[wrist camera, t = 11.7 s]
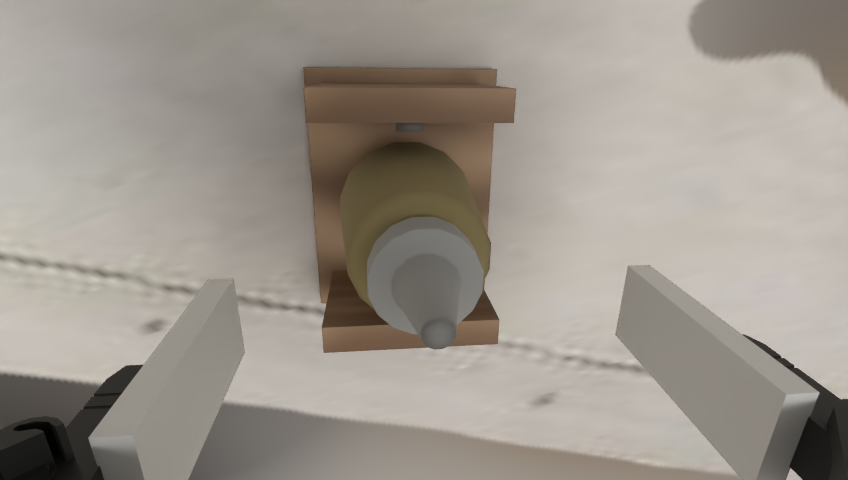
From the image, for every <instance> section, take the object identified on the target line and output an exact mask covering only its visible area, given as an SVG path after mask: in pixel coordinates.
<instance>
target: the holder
mask: <svg viewBox="0 0 848 480" xmlns="http://www.w3.org/2000/svg"><path fill="white" fill-rule="evenodd" d="M303 69H304V83H305V87H304V98H305V112H306V123H308V136H309V149H310V163H311V176H312V189H313V203H314V216H315V229H316V243H317V256H318V270H319V283H320V296H321V303H327V304H326V309H325V314H324V320H323V325H322V336H323V349H324V353H328V352H348V351H368V350H387V349H407V348H426V347H427V346H426V345H425V344H424V343H423V342H422V340H421V339H420V337H419V336H418V334H411V333H408V332H405V331H402V330H398V329H395V328H393V327H392V326H390V325H389V324H388V323H387V322H386V321H384V320H383V319H382V318H381V317H380V316H378V315H377V313H376V311H375V310H374V309H373V308H372V307H371V306H369V305H368V304H367V303H366V302H365V301H363V300H362V299H361V298H360V297H359V295H358V293H357V291H356V289H355V287H354V285H353V283H352V281H351V280H350V278H349V276H348V272H347V264H346V256H345V248H344V240H343V231H342V223H341V206H340V196H341V193H342V190H343V188H344V185H345V182H346V180H347V177H348V174H349V172H350V171H351V170H352V169H353V168H354V167H355V166H356V165H357V164H358V163H359V162H360V161H361V160H362V159H363V158H364V157H365V156H366V155H367V154H368V153H369V152H372V151H374V150H376V149H379V148H381V147H383V146H386V145H388V144H390V143H393V142H421V143H424V144H426V145H428V146H431V147H433V148H436V149H438V150H440V151H443V152H445V153H446V154H447V155H448V156H449V157H450V158H451V159H452V160H453V161H454V162H455V163H456V164H457V165H458V166H459V167H460V168H461V169H462V170H463V172H464V174H465V177H466V179H467V182H468V185H469V187H470V190H471V192H472V195H473V197H474V200H475V203H476V205H477V208H478V210H479V213H480V216H481V218H482V221H483V223H484V226H485V229H486V231H487V232H488V214H489V197H490V180H491V163H492V146H493V129H494V123H514V111H515V97H516V89H515V88H507V87H500V86H496V77H497V69H422V68H319V67H303ZM484 283H485V279H484V281H483V291H482V293H481V295H480V297H479V299H478V301H477V303H476V305H475V307H474V309H473V311H472V312H471V313H470V314H469V315H467V316H466V317H465V318H464V319H463V320H462V321H461V322H460V323H459V324H458V325H457V334H456V338H455V340H454V342H453V343H451V344H450V345H449V346H466V345H485V344H498V332H499V318H498V316H497V314H496V312H495V310H494V308H493V306H492V304H491V302H490V300H489V298H488V297H487V295H486V293H485V291H484Z"/></svg>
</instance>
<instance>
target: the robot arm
mask: <svg viewBox="0 0 848 480" xmlns="http://www.w3.org/2000/svg"><path fill="white" fill-rule="evenodd" d="M615 335H616V336H617V337H618V338H619V339H620V341H621V342H622V343H623V344H624V345H625V346H626V347H627V349H628V350H629V351H630V352H631V353H632V354H633V355H634V356H635V358H636V359H637V360H638V361H639V362H640V363H641V364H642V366H643V367H644V368H645V369H646V370H647V371H648V372H649V374H650V375H651V376H652V377H653V378H654V379H655V380H656V382H657V383H658V384H659V385H660V386H661V387H662V388H663V390H664V391H665V392H666V393H667V394H668V395H669V396H670V398H671V399H672V400H673V401H674V402H675V403H676V404H677V406H678V407H679V408H680V409H681V410H682V411H683V412H684V414H685V415H686V416H687V417H688V418H689V419H690V420H691V422H692V423H693V424H694V425H695V426H696V427H697V428H698V430H699V431H700V432H701V433H702V434H703V435H704V436H705V438H706V439H707V440H708V441H709V442H710V443H711V444H712V446H713V447H714V448H715V449H716V450H717V451H718V452H719V454H720V455H721V456H722V457H723V458H724V459H725V460H726V462H727V463H728V464H729V465H730V466H731V467H732V468H733V470H734V471H735V472H736V473H737V474H738V475H739V476H740V478H741V479H742V480H786V478H787V475H788V473H789V470H790V468H791V469H792V470H794V471H795V472H796V473H797V474H798V475H799V476H800V477H801V478H802V479H803V480H848V399H842V400H841V399H839V398H838V397H836V396H835V395H834V394H832V393H831V392H830V391H828V390H827V389H825V388H824V387H823V386H821V385H820V384H819V383H817V382H816V381H814V380H813V379H812V378H810V377H809V376H808V375H806V374H805V373H804V372H802V371H801V370H799V369H798V368H794V365H793V364H791V363H790V362H788V361H787V360H786V359H784V358H781V356H780V355H779V354H777V353H776V352H775V351H773V350H772V349H771V348H769V347H768V346H766V345H765V344H763V343H761V342H759V341H757V340H755V339H753V338H751V337H749V336H746V335H744V334H743V335H742V334H741V333H739V332H738V331H737V330H735V329H734V328H733V327H731V326H730V325H729V324H727V323H726V322H725V321H723V320H722V319H721V318H719V317H718V316H717V315H715V314H714V313H713V312H711V311H710V310H709V309H707V308H706V307H705V306H703V305H702V304H701V303H699V302H698V301H697V300H695V299H694V298H693V297H691V296H690V295H689V294H687V293H686V292H685V291H683V290H682V289H681V288H679V287H678V286H677V285H675V284H674V283H673V282H671V281H670V280H668V279H667V278H666V277H664V276H663V275H662V274H660V273H659V272H658V271H656V270H655V269H654V268H652V267H651V266H650V265H637V266H628V269H627V275H626V280H625V285H624V291H623V296H622V302H621V307H620V313H619V318H618V323H617V329H616V334H615ZM244 353H245V351H244V344H243V338H242V331H241V325H240V318H239V311H238V305H237V298H236V292H235V285H234V279H208V281H207V282H206V283H205V285H204V286H203V287H202V289H201V290H200V291H199V292H198V294H197V295H196V296H195V298H194V299H193V300H192V302H191V303H190V304H189V306H188V307H187V308H186V310H185V311H184V312H183V314H182V315H181V316H180V318H179V319H178V320H177V321H176V323H175V324H174V325H173V327H172V328H171V329H170V331H169V332H168V333H167V335H166V336H165V337H164V339H163V340H162V341H161V343H160V344H159V345H158V347H157V348H156V349H155V351H154V352H153V353H152V354H151V356H150V357H149V358H148V360H147V361H146V362H145V364H144V365H129V366H125V367H124V368H122V369H121V370H119V371H118V372H116V373H115V374H114V375H112V376H111V377H109V378H108V379H106V381H105V382H104V383H103V384H102V385H101V387H100V388H99V389H98V390H97V392H96V393H95V394H94V397H92V398H91V399H90V400H89V401H88V402H87V403H86V404H85V406H84V409H83V410H81V411H80V412H79V413H78V414H77V415H76V417H75V418H74V419H73V420H72V421H71V423H70V424H69V425H68V426H67V427H66V428H65V426H64V424H63V423H62V422H61V421H60V420H59V419H58V418H53V417H47V416H44V417H36V418H29V419H27V420H23V421H20V422H17V423H14V424H11V425H9V426H7V427H5V428H3V429H1V430H0V480H188V478H189V476H190V474H191V471H192V469H193V467H194V465H195V462H196V460H197V458H198V456H199V453H200V451H201V449H202V446H203V445H204V442H205V440H206V438H207V436H208V433H209V431H210V429H211V426H212V424H213V422H214V420H215V418H216V415H217V413H218V411H219V409H220V406H221V404H222V402H223V400H224V397H225V395H226V393H227V391H228V388H229V386H230V384H231V382H232V379H233V377H234V375H235V373H236V370H237V368H238V366H239V364H240V361H241V359H242V357H243V355H244Z"/></svg>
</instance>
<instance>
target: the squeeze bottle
mask: <svg viewBox="0 0 848 480" xmlns="http://www.w3.org/2000/svg"><path fill="white" fill-rule="evenodd" d="M340 206H341V223H342V231H343V240H344V248H345V256H346V264H347V272H348V276H349V278H350V280H351V281H352V283H353V285H354V287H355V289H356V291H357V293H358V295H359V297H360V298H361V299H362V300H363V301H365V302H366V303H367V304H368V305H369V306H371V307H372V308H373V309H374V310H375V311H376V313H377V315H378V316H380V317H381V318H382V319H383V320H384V321H386V322H387V323H388V324H389V325H390V326H392V327H393V328H395V329H398V330H402V331H405V332H408V333H411V334H418V336H419V337H420V339H421V340H422V342H423V343H424V344H425V345H426V346H427V347H429V348H432V349H443V348H445V347H448V346H449V345H450V344H451V343H453V342H454V340H455V338H456V334H457V325H458V324H459V323H460V322H461V321H462V320H463V319H464V318H465V317H466V316H467V315H469V314H470V313H471V312H472V311H473V309H474V307H475V305H476V303H477V301H478V299H479V297H480V295H481V293H482V291H483V281H484V279H485V277H486V275H487V273H488V271H489V267H490V251H491V242H490V239H489V237H488V234H487V231H486V229H485V226H484V223H483V221H482V218H481V216H480V213H479V210H478V208H477V205H476V203H475V200H474V197H473V195H472V192H471V190H470V187H469V185H468V182H467V179H466V177H465V174H464V172H463V170H462V169H461V168H460V167H459V166H458V165H457V164H456V163H455V162H454V161H453V160H452V159H451V158H450V157H449V156H448V155H447V154H446V153H445V152H443V151H440V150H438V149H436V148H433V147H431V146H428V145H426V144H424V143H421V142H393V143H390V144H388V145H386V146H383V147H381V148H379V149H376V150H374V151H372V152H369V153H368V154H367V155H366V156H365V157H364V158H363V159H362V160H361V161H360V162H359V163H358V164H357V165H356V166H355V167H354V168H353V169H352V170H351V171H350V172H349V174H348V177H347V180H346V182H345V185H344V188H343V190H342V193H341V196H340Z"/></svg>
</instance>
